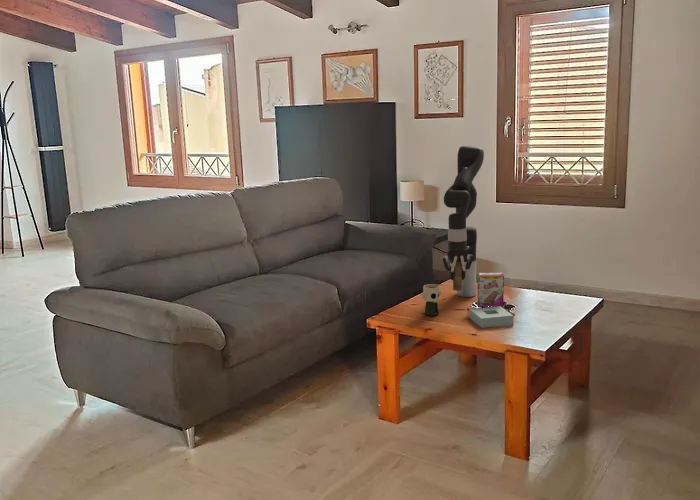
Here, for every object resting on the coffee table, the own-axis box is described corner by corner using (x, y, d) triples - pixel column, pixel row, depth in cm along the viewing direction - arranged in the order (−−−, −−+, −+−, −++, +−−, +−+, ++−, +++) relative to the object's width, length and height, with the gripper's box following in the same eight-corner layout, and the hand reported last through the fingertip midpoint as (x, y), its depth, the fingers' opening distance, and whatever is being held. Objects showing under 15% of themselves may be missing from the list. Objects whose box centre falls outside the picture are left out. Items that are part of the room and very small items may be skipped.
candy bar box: (478, 311, 289) (478, 275, 286) (477, 308, 294) (477, 272, 291) (503, 311, 288) (504, 274, 285) (502, 307, 293) (502, 272, 290)
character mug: (428, 319, 281) (428, 289, 278) (417, 315, 287) (416, 286, 284) (446, 313, 287) (446, 285, 285) (435, 310, 293) (434, 282, 290)
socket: (469, 317, 280) (469, 308, 280) (500, 315, 283) (500, 306, 282) (481, 327, 267) (481, 318, 266) (513, 324, 269) (513, 315, 268)
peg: (452, 288, 273) (451, 260, 271) (460, 287, 274) (460, 260, 271) (454, 290, 270) (454, 262, 267) (463, 290, 270) (462, 261, 268)
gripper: (471, 236, 272) (471, 276, 275) (438, 238, 270) (438, 278, 273) (477, 239, 264) (476, 280, 268) (443, 241, 263) (443, 283, 266)
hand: (457, 279), depth 271 cm, fingers closed on peg, 3 cm apart
